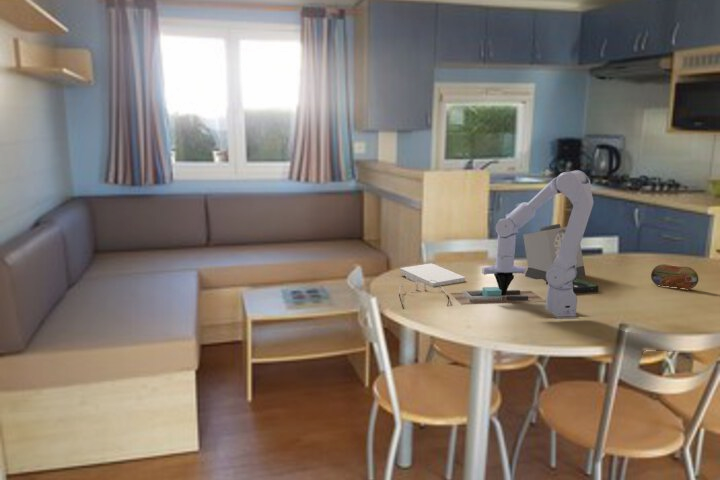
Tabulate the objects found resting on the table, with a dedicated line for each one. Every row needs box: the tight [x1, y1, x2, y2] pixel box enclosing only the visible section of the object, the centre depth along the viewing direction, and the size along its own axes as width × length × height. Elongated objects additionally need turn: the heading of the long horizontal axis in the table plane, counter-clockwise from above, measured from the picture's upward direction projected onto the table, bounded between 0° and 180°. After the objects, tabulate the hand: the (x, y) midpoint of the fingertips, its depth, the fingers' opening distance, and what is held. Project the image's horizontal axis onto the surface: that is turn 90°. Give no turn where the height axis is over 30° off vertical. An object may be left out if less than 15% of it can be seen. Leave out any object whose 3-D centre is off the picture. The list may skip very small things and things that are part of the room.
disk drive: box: [545, 278, 599, 295], centre depth 202 cm, size 10×3×15 cm
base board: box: [450, 290, 547, 306], centre depth 187 cm, size 12×29×1 cm, turn 99°
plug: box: [481, 286, 502, 296], centre depth 187 cm, size 4×5×3 cm
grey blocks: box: [506, 289, 528, 301], centre depth 188 cm, size 7×7×1 cm
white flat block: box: [399, 263, 466, 287], centre depth 210 cm, size 15×3×20 cm
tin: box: [650, 263, 699, 290], centre depth 206 cm, size 15×3×8 cm, turn 62°
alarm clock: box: [522, 223, 586, 282], centre depth 218 cm, size 20×16×20 cm
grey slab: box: [461, 289, 502, 302], centre depth 186 cm, size 7×11×2 cm, turn 99°
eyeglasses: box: [398, 279, 450, 310], centre depth 185 cm, size 16×19×5 cm
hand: (502, 294), depth 187 cm, fingers closed
